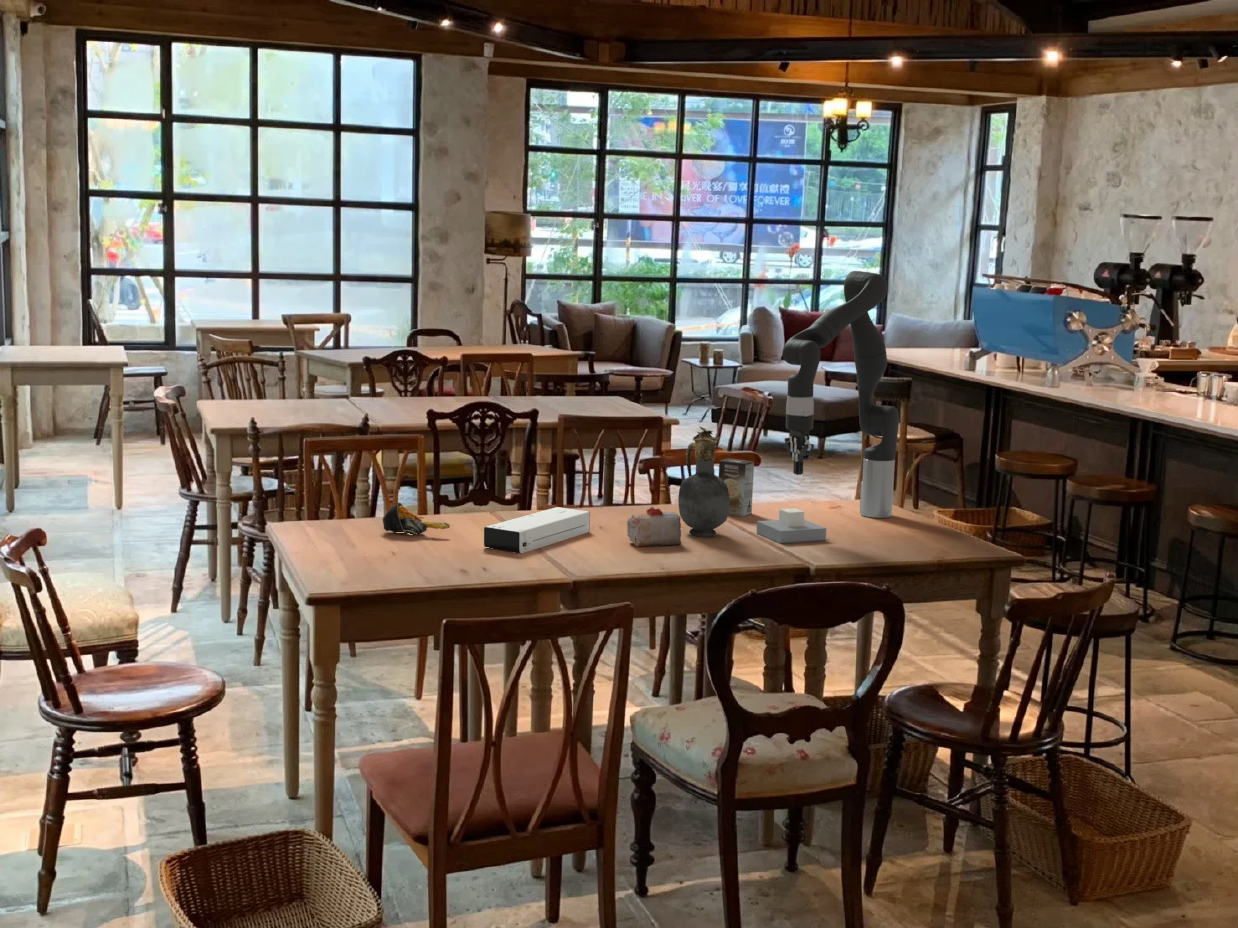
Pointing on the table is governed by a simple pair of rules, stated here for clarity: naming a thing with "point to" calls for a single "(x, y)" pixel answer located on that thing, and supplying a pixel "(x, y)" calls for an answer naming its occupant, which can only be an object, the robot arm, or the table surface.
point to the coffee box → (738, 484)
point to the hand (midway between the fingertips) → (798, 474)
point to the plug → (791, 517)
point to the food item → (654, 528)
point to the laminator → (537, 530)
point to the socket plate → (791, 532)
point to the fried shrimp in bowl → (407, 521)
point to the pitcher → (703, 489)
